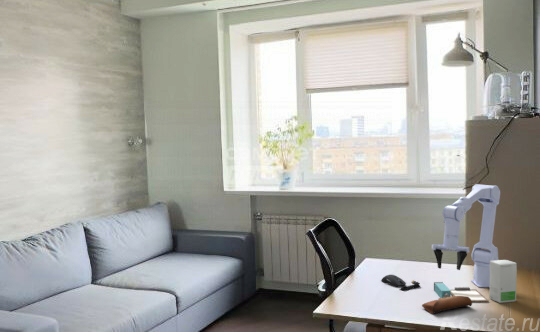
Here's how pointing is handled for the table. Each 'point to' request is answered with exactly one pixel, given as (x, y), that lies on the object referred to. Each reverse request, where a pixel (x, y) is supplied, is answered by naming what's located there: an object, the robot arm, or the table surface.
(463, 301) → the sunglasses case
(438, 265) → the robot arm
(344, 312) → the table surface
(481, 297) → the clipboard
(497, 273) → the skincare box
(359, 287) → the table surface
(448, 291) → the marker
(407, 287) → the computer mouse
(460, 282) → the table surface
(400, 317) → the table surface
